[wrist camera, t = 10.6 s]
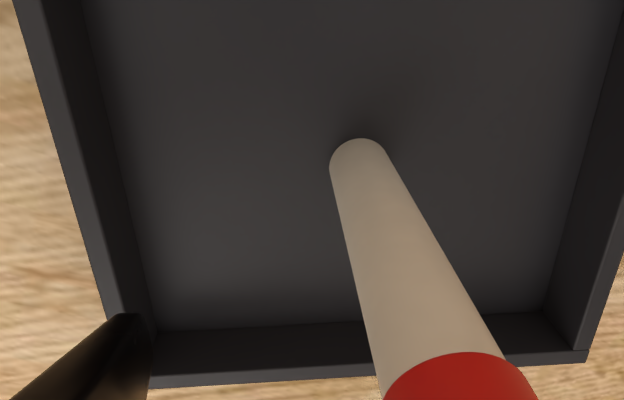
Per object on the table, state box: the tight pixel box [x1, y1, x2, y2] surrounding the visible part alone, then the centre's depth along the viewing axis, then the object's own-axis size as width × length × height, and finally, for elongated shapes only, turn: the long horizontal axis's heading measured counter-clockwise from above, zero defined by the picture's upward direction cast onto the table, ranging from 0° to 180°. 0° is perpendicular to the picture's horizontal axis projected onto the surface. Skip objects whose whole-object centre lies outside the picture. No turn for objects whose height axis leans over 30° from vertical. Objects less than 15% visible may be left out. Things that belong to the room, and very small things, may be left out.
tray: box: [12, 0, 624, 389], centre depth 13 cm, size 13×15×3 cm
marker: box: [329, 138, 539, 400], centre depth 9 cm, size 2×2×11 cm
